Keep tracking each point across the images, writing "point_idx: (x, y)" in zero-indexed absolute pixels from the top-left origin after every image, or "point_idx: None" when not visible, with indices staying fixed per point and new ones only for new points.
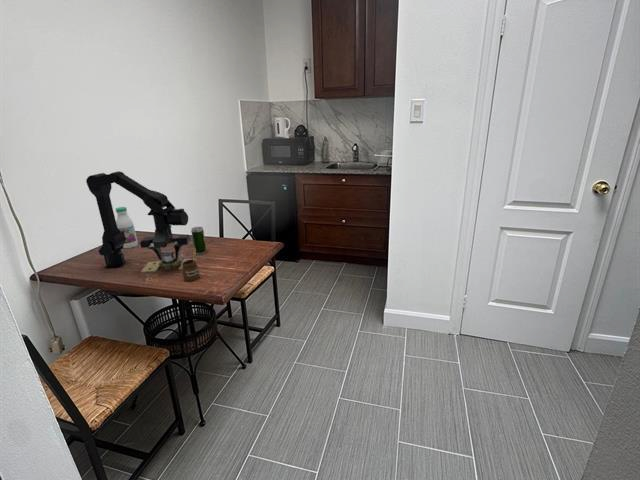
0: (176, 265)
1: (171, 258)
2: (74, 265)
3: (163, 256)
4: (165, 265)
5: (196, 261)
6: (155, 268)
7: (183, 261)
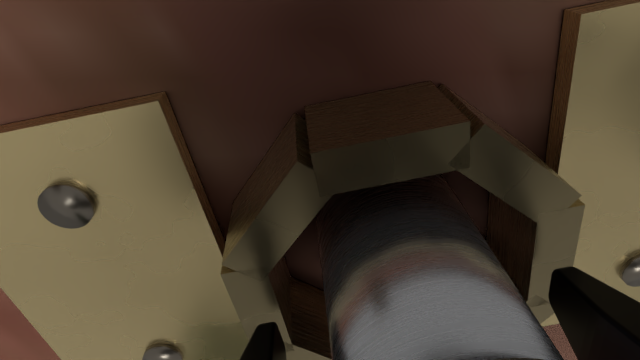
0: (247, 198)
1: (348, 314)
2: None
3: (548, 340)
4: (420, 124)
5: (58, 347)
6: (601, 101)
7: (243, 333)
